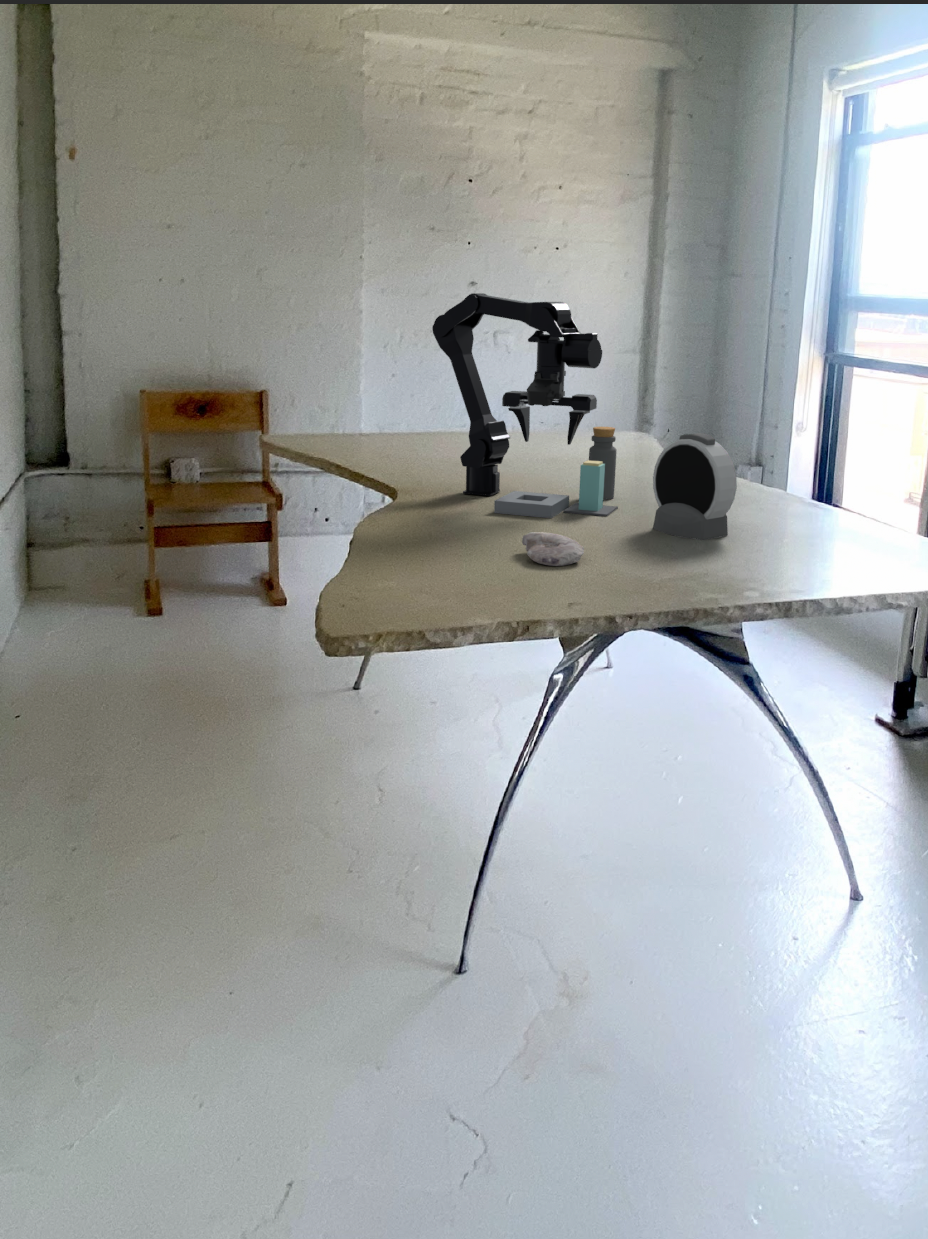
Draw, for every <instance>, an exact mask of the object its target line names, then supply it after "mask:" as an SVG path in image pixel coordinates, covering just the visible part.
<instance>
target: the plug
mask: <svg viewBox="0 0 928 1239" xmlns="http://www.w3.org/2000/svg"><path fill="white" fill-rule="evenodd" d="M579 471H580V474H579V490H578V491H579V493H578V503H579V509H580V510H591V511H599V510H600V509H601V508H603V505H604V500H603V492H604V473H605V464H603V461H589V459H587V460H586V461H584V462H582V464H580V470H579Z"/></svg>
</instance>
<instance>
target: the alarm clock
mask: <svg viewBox="0 0 928 1239" xmlns="http://www.w3.org/2000/svg"><path fill="white" fill-rule="evenodd" d="M652 475H653V476H652V485H653V486H652V487H653V488H652V489H653V493H654V497H655V501H656V503H657V506H658V508H657V509H656V510H655V516H654V521H653V527H652V529H653V530H656V531H658V532H660V533H663V534H667V535H670V536H675V537H681V538H686V539H692V540H698V541H706V540H712V539H716V538H721V537H728V534H729V533H728V532H729V529H728V515H727V513H728V512H729V510H731V507H732V505H733V503H734V501H735V499H736V498H735V496H736V494H737V484H738V483H737V481H738V480H737V471H736V469H735V464H734V462H733V460H732V457H731V456H730V453H728V451H727V450H726V449H725V448H724V447H723V446H722V445H721V444H720V443H719V442H717V441H716V439H715V438H714V437H713V436H712V435H710V434H707V433H703V432H695V433H686V434H681V435H680V436H679V439H678V440H675V441H673V442H671V443H669V444H668V445H667V446H665V448H663V450H662V451H661V453H660V454H659V455H658V458H657V460H656V463H655V464H654V469H653V474H652Z"/></svg>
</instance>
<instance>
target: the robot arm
mask: <svg viewBox="0 0 928 1239" xmlns="http://www.w3.org/2000/svg"><path fill="white" fill-rule="evenodd" d="M485 315H486V316H493V317H497V318H502V319H509V320H514V321H519V322H522V323H524V324H525V325H527V326H529V327H531V328H533V329H535V332H534V333H533V334H532V335H530V337H528V339H527V342H529V343H537V347H536V370H535V371H534V374H533V376H534V377H533V381H531V383H530V384H529V385H528V386H527V388H526V391H525V390H523V391H521V390H510V391H506V392H505V393H504V394H503V396H502V401H501V402H502V403H501V404H502V405H501V406H502V407H508V408H507V409H508V411H509V412H513V414H514V415H515V416H516V419H517V420H518V421H517V422H518V423H519V426H520V429H521V434H522V437H523V439H524V441H525V443H528V442H529V440H530V424H531V423H530V422H531V421H530V419H531V418H530V417H531V416H530V414H531V407H530V406H532V407H533V406H534V405H535V406H542V407H549V406H555V407H556V406H558V407H571V409H572V410H570V411H568V415H569V422H568V423H569V424H568V430H567V445H568V446H570V445H571V443H572V441H573V439H574V438H575V437H574V436H575V435H576V432H577V430H578V428H579V425H580V423H581V422H582V419H583V418H584V417H585V415H587V414H589V413H590V412H591V411H593V410H596V409H597V406H598V399H597V397H596V396H595V394H586V393H582V394H581V393H576V394H574V395H572V396H571V397H570V396H569V397H567V396H566V391H565V377H566V374H567V371H566V370H565V369H566V368H565V367H566V366H567V367H569V368H577V369H578V368H582V369H597V368H598V367H599V366H600V364H601V361H602V358H603V350H602V345H601V342H600V340H598V333H597V332H586V333H581V331H580V329H579V327H578V326H577V324H576V322H575V320H574V319H573V317H572V311H571V309H570V306H569V305H568V304H567V303H565V302H563V301H536V302H528V301H521V300H517V299H516V300H515V299H509V298H504V297H500V296H492V295H488V294H486V293H482V292H481V293H469V294H468V295H467V296H465V298H464V299H463V300H462V301H460V302H459V303H457V304H455V305H454V306H452V307H451V308H449V309H448V310H446V312H444V313H443V314H441V315H438V316H437V317H436V318H435V320H434V321H433V325H432V327H431V328H432V335H433V337H434V339H435V341H436V342H437V344H438V347H439V349H441V351H442V352H443V353H445V354H444V355H446V356H447V357H448V358H449V360H450V362H451V366H452V369H453V372H454V376H455V378H456V382H457V384H458V387H459V390H460V394H461V396H462V401H463V404H464V407H465V409H466V413H467V415H468V419H469V424H470V425H469V431H468V432H469V433H468V441H469V445H470V446H469V447H468V448H467V449H466V450H465V451H464V452H462V454H461V455H460V461H461V465H462V467H465V468H466V470H465V471H466V472H465V473H466V474H465V490H463V491H462V494H464V495H474V496H475V495H476V496H486V497H487V496H488V497H491V496H493V495H496V494H497V493H500V492H501V490H500V484H501V483H500V480H501V479H500V478H501V477H500V476H501V473H500V471H499V470H498V469H499V468H498V467H499V466H498V465H501V464H502V462H503V460H504V457H505V455H506V454H507V453H508V450H509V449H510V441H509V439H511V436H510V435H509V434H508V430H507V426H506V422H505V421H504V420H497V419H496V418H495V417H494V415H493V414H492V411H491V409H490V404H489V402H488V399H487V394H486V392H485V389H484V386H483V383H482V381H481V377H480V374H479V371H478V370H479V369H478V368H477V364H476V362H475V359H474V356H473V346H474V341H475V340H474V339H475V338H474V332H473V330H474V329H475V328H477V326H478V325H479V324H480V322H481V320H482V319H483V316H485ZM546 333H547V334H546ZM560 338H563V339H560Z"/></svg>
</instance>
